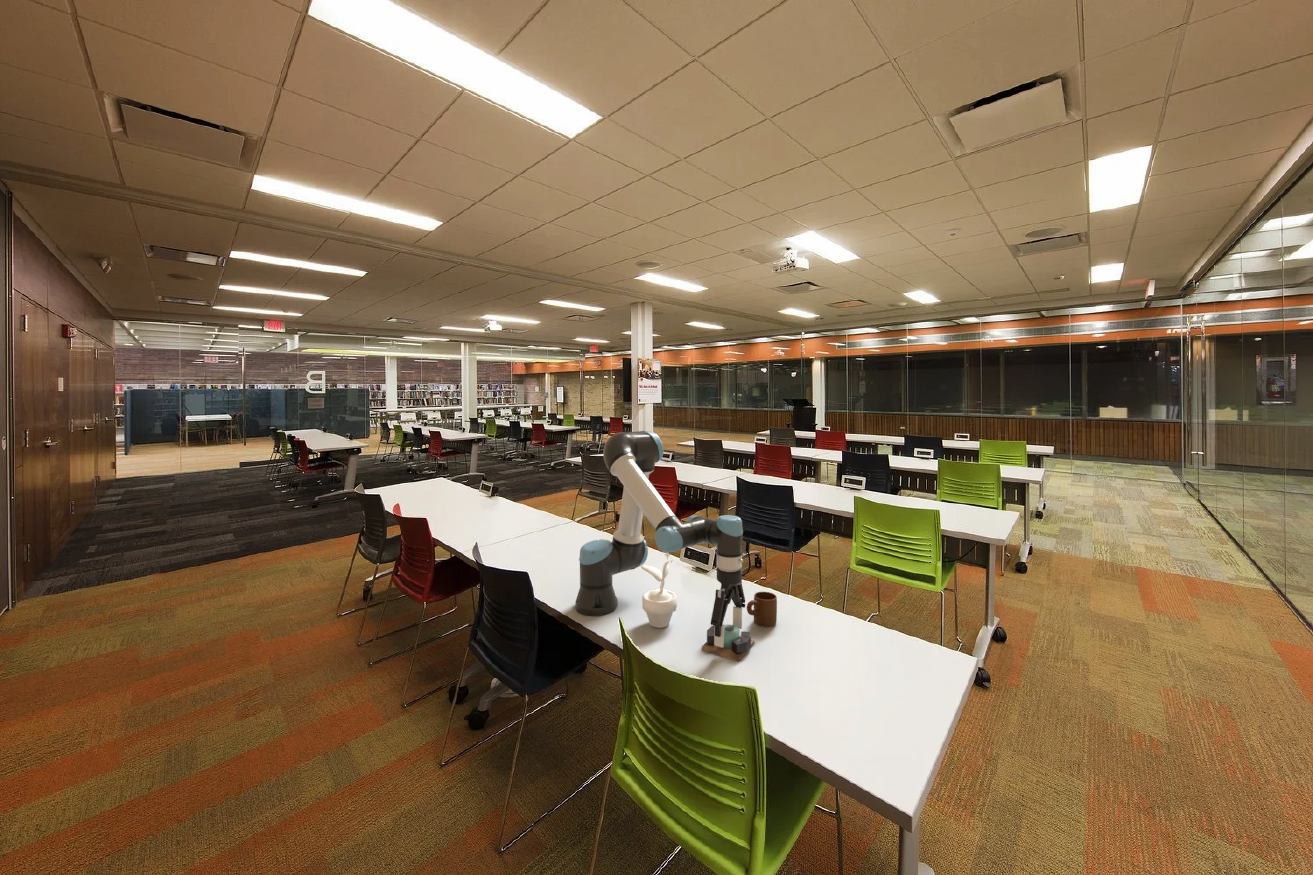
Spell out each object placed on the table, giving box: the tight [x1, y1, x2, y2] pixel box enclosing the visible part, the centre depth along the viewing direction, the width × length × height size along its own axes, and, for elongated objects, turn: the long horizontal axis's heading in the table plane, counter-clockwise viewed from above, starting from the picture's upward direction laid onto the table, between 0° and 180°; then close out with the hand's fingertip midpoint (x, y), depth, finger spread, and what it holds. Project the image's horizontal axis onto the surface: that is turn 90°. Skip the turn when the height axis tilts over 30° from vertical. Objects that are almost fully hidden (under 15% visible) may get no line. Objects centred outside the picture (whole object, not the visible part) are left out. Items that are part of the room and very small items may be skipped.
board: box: [701, 635, 756, 662], centre depth 143 cm, size 12×12×1 cm
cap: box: [723, 624, 740, 649], centre depth 143 cm, size 6×6×5 cm
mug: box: [746, 591, 778, 628], centre depth 157 cm, size 12×8×9 cm, turn 123°
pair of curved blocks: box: [706, 625, 752, 655], centre depth 143 cm, size 13×9×3 cm
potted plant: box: [639, 552, 678, 629], centre depth 157 cm, size 13×12×25 cm
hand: (728, 636), depth 143 cm, fingers open, 13 cm apart
